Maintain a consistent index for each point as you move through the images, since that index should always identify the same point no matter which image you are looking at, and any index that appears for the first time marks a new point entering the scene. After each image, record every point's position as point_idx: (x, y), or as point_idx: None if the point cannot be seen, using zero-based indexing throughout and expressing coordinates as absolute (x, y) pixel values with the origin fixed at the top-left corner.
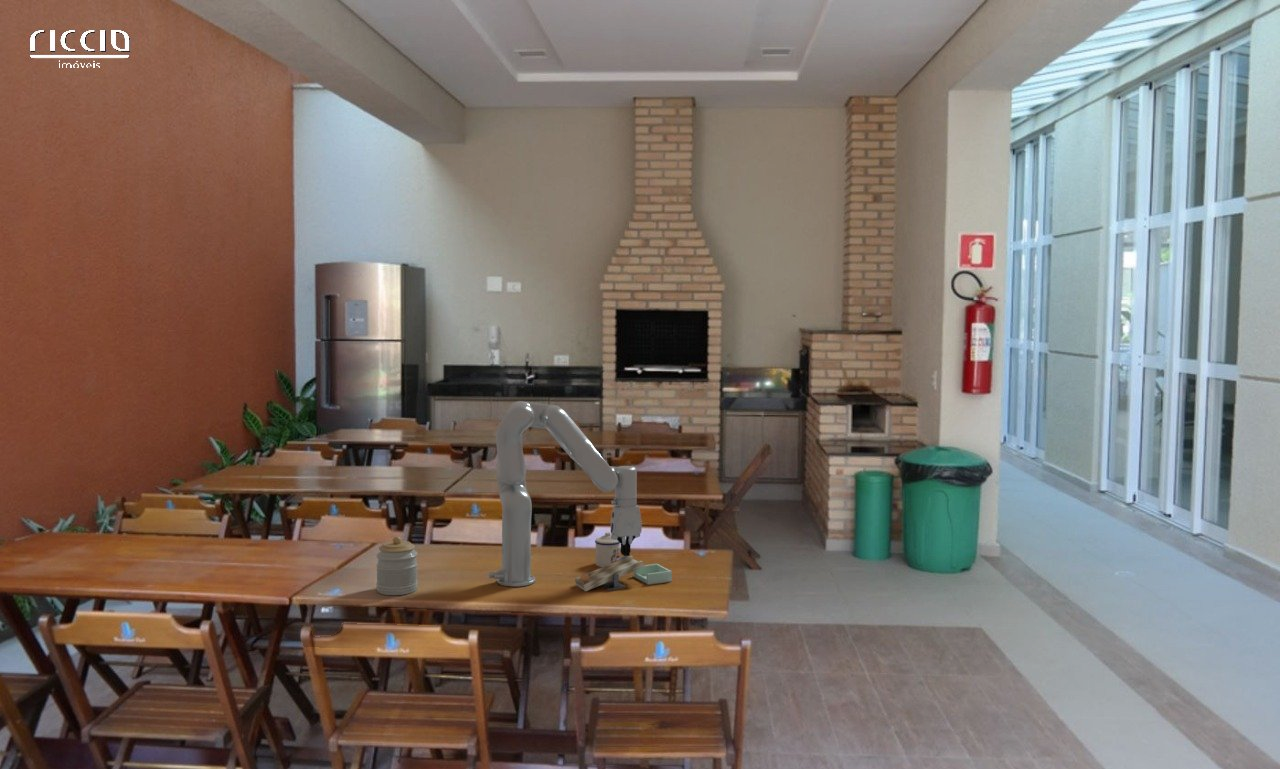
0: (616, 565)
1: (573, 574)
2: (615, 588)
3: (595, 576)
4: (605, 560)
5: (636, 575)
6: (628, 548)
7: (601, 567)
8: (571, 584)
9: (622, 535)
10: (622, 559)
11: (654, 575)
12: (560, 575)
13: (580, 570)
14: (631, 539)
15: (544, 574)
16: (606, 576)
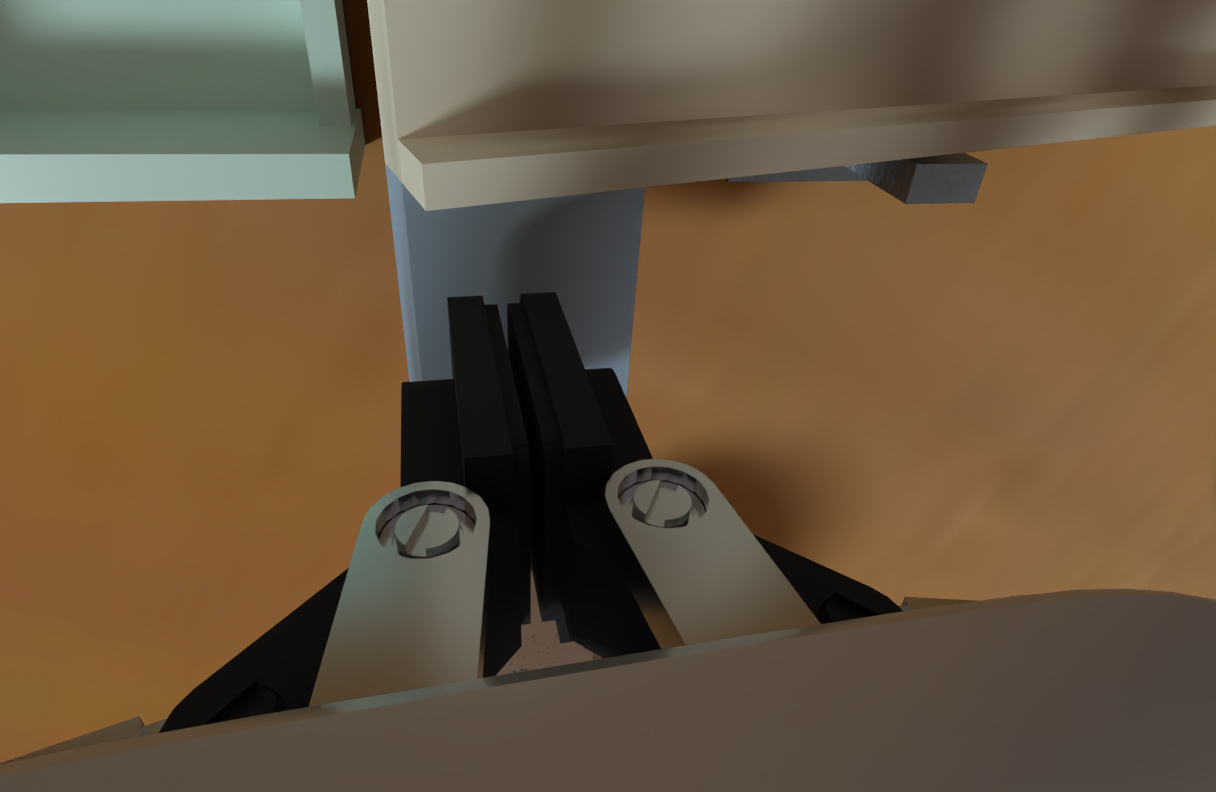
0: (784, 116)
1: (915, 460)
2: None
3: (1114, 22)
4: (551, 629)
5: (344, 46)
6: (497, 382)
7: (970, 199)
8: (1184, 156)
9: (1046, 637)
10: (677, 168)
11: None
12: (1016, 464)
13: (787, 546)
14: (379, 610)
15: (1078, 517)
16: None
